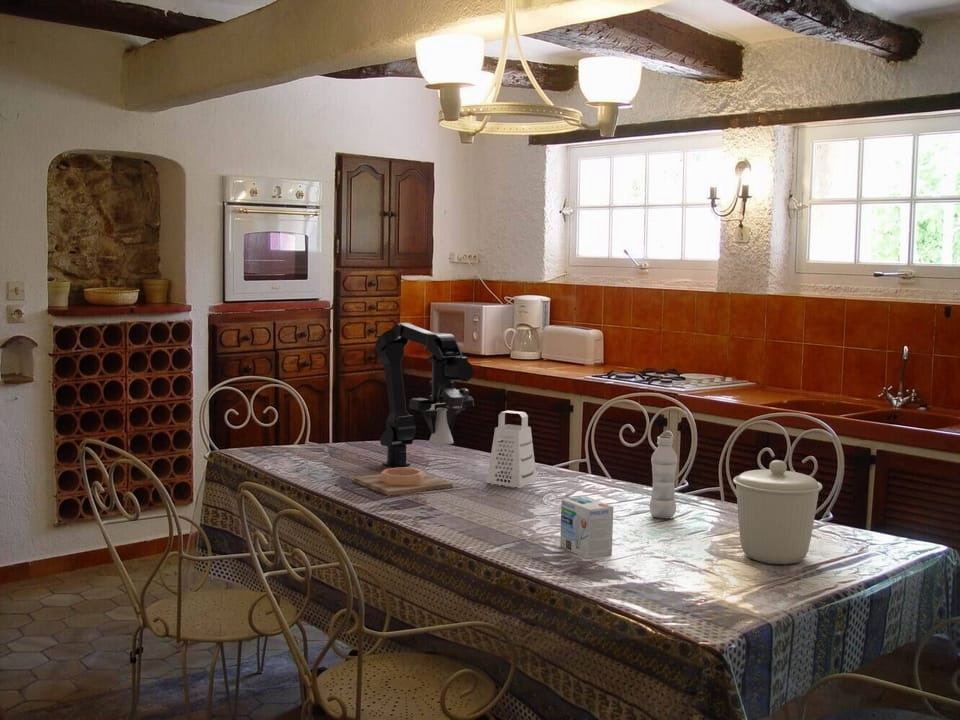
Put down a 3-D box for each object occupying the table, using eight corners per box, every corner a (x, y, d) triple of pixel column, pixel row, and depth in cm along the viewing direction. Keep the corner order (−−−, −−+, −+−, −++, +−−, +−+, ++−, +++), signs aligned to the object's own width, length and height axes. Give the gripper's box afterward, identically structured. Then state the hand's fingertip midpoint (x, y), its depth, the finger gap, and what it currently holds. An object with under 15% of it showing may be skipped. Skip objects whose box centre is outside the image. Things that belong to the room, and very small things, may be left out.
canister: (836, 567, 209) (841, 467, 207) (759, 573, 204) (764, 470, 202) (786, 543, 226) (790, 450, 224) (714, 549, 221) (718, 454, 219)
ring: (375, 478, 280) (375, 470, 280) (409, 474, 287) (409, 466, 286) (395, 486, 271) (395, 477, 271) (430, 481, 278) (430, 473, 277)
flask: (453, 445, 285) (454, 410, 284) (427, 445, 285) (428, 410, 284) (454, 441, 292) (454, 407, 291) (429, 440, 292) (429, 406, 291)
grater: (519, 488, 277) (521, 416, 275) (486, 483, 283) (487, 412, 281) (536, 481, 286) (538, 411, 284) (504, 476, 292) (505, 408, 290)
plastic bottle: (646, 519, 245) (649, 438, 243) (651, 513, 252) (654, 434, 250) (673, 522, 243) (676, 440, 241) (677, 516, 249) (680, 436, 248)
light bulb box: (558, 547, 221) (560, 498, 220) (584, 543, 224) (585, 495, 223) (587, 559, 211) (588, 509, 210) (613, 555, 215) (614, 506, 214)
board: (353, 481, 282) (353, 477, 281) (414, 474, 293) (414, 470, 293) (388, 496, 265) (388, 491, 265) (452, 487, 277) (452, 483, 277)
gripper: (429, 383, 275) (428, 439, 276) (485, 379, 286) (484, 434, 287) (408, 378, 284) (407, 433, 286) (463, 375, 295) (462, 428, 296)
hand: (441, 432), depth 288 cm, fingers closed on flask, 5 cm apart
